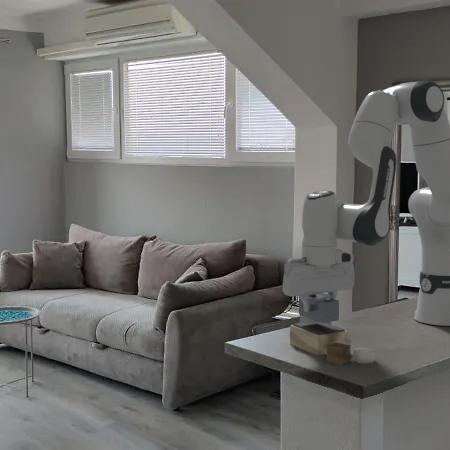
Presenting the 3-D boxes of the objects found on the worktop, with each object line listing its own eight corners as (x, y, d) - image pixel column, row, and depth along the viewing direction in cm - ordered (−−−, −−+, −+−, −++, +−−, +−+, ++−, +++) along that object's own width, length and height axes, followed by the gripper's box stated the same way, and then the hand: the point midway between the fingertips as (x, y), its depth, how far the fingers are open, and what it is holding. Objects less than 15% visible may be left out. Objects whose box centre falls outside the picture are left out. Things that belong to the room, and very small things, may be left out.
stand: (318, 339, 184) (318, 319, 184) (347, 350, 174) (347, 329, 173) (290, 344, 180) (290, 323, 179) (318, 356, 169) (318, 334, 169)
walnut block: (335, 358, 168) (335, 342, 167) (350, 361, 165) (350, 345, 165) (326, 362, 165) (326, 346, 164) (341, 365, 162) (341, 349, 162)
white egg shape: (364, 356, 169) (365, 346, 169) (378, 362, 165) (379, 351, 165) (348, 359, 167) (348, 349, 167) (362, 365, 163) (362, 354, 162)
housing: (338, 320, 173) (339, 296, 172) (322, 322, 170) (322, 298, 170) (314, 312, 181) (314, 289, 181) (298, 314, 179) (299, 291, 178)
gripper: (292, 261, 166) (291, 317, 168) (358, 254, 176) (357, 308, 178) (277, 257, 172) (277, 312, 173) (343, 251, 182) (342, 303, 183)
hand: (318, 310), depth 176 cm, fingers closed on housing, 5 cm apart
